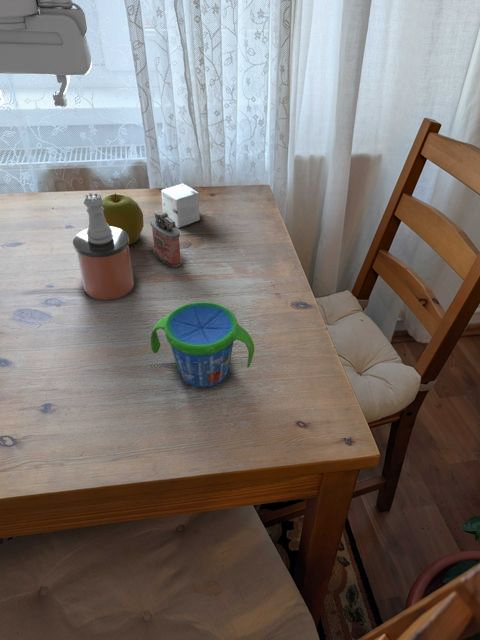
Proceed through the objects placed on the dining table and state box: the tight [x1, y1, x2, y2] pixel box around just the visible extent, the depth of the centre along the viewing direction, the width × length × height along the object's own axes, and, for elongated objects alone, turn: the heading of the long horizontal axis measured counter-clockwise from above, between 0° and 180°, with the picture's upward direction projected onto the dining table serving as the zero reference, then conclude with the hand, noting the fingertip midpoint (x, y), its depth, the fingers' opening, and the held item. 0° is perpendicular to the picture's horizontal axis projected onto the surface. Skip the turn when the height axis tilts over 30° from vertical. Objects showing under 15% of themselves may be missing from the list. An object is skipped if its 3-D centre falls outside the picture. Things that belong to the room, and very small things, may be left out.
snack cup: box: [150, 301, 255, 388], centre depth 79 cm, size 16×10×10 cm
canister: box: [72, 227, 135, 300], centre depth 94 cm, size 9×9×10 cm
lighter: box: [149, 210, 183, 267], centre depth 103 cm, size 8×3×10 cm, turn 40°
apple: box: [101, 192, 145, 246], centre depth 107 cm, size 10×10×11 cm
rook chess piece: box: [82, 192, 113, 245], centre depth 88 cm, size 4×4×8 cm
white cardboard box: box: [160, 183, 201, 229], centre depth 115 cm, size 6×6×7 cm
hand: (29, 105), depth 79 cm, fingers open, 8 cm apart
